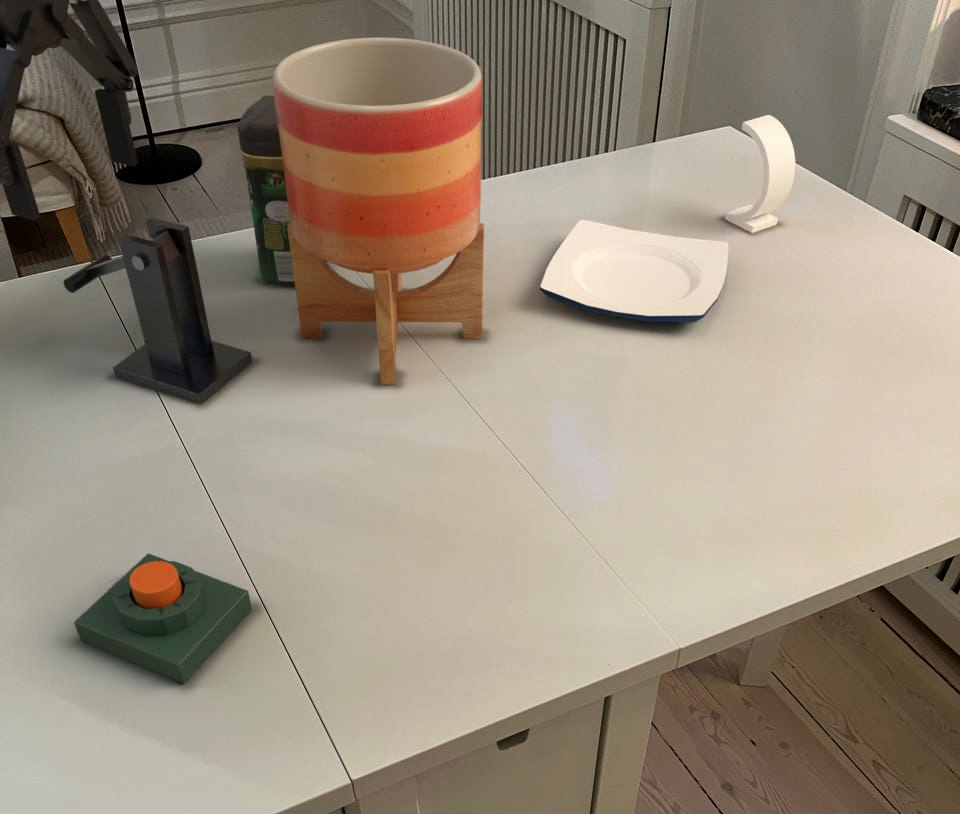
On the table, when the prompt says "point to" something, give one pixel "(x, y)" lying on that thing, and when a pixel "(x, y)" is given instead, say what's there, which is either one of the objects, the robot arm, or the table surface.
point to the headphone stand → (768, 174)
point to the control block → (166, 622)
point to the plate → (636, 273)
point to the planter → (383, 183)
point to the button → (155, 584)
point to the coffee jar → (267, 189)
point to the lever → (116, 264)
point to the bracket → (173, 321)
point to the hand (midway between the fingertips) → (78, 188)
